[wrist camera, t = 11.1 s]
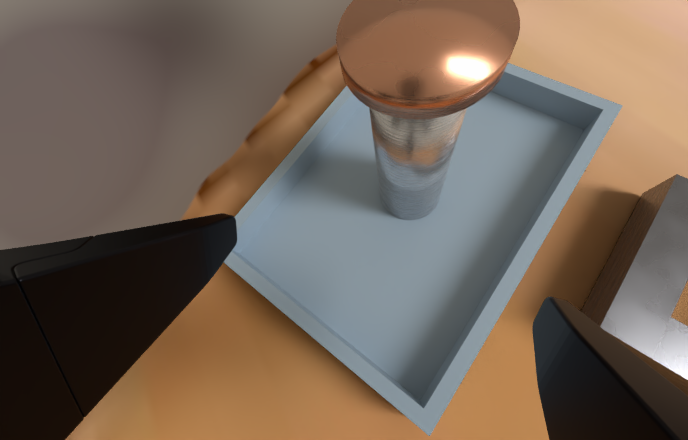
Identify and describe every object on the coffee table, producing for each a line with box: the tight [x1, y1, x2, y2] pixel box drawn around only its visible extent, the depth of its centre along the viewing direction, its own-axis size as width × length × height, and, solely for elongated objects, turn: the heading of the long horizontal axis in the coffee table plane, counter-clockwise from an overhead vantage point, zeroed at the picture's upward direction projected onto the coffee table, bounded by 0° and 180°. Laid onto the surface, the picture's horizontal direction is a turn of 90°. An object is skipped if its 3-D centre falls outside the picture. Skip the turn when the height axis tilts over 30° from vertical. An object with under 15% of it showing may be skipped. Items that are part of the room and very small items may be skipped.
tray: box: [224, 63, 622, 436], centre depth 20 cm, size 22×16×3 cm
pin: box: [336, 0, 520, 220], centre depth 15 cm, size 6×6×12 cm
